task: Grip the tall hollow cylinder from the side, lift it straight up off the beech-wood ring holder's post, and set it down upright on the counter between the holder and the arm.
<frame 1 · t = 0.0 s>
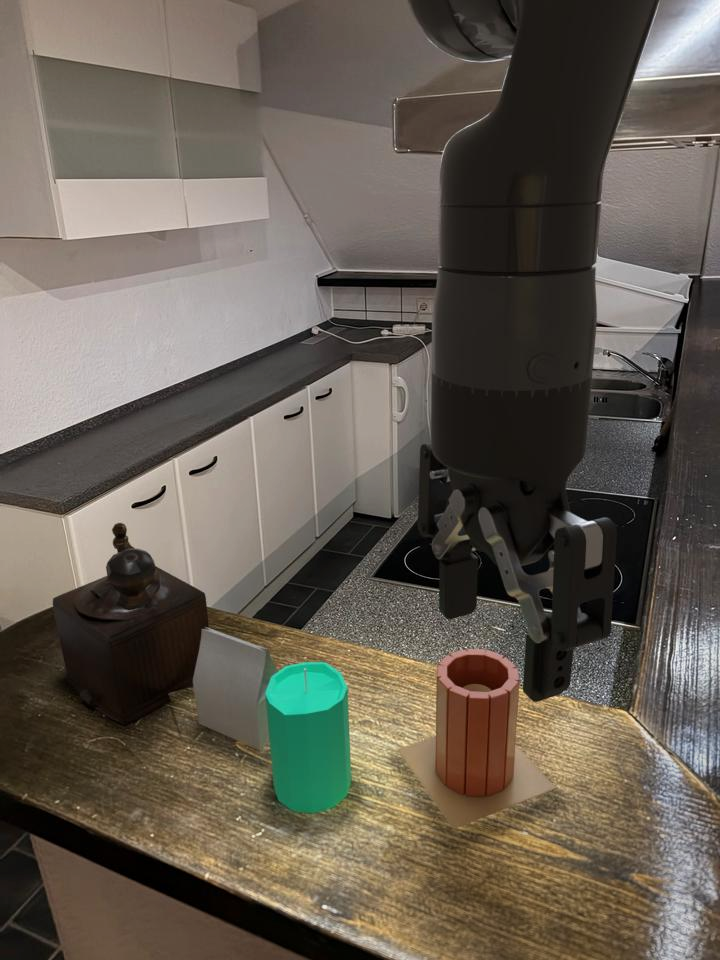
hand: (496, 650, 42), 20 cm above the countertop, tool pointing down, fingers open, 8 cm apart
hollow cylinder: (473, 767, 60), point 1 cm above the countertop, touching ring holder
tea bag: (244, 739, 66), on the countertop
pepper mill: (153, 692, 72), on the countertop
ring holder: (473, 782, 60), on the countertop
candle: (313, 799, 59), on the countertop
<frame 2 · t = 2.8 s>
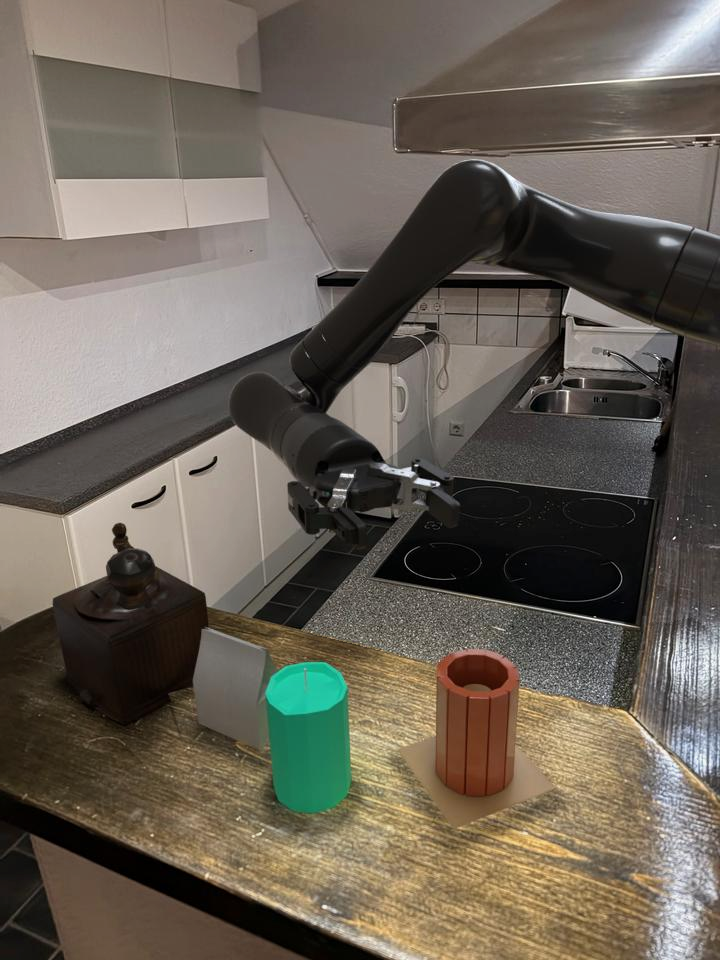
hand: (410, 527, 62), 18 cm above the countertop, tool horizontal, fingers open, 8 cm apart
nothing on the countertop moved.
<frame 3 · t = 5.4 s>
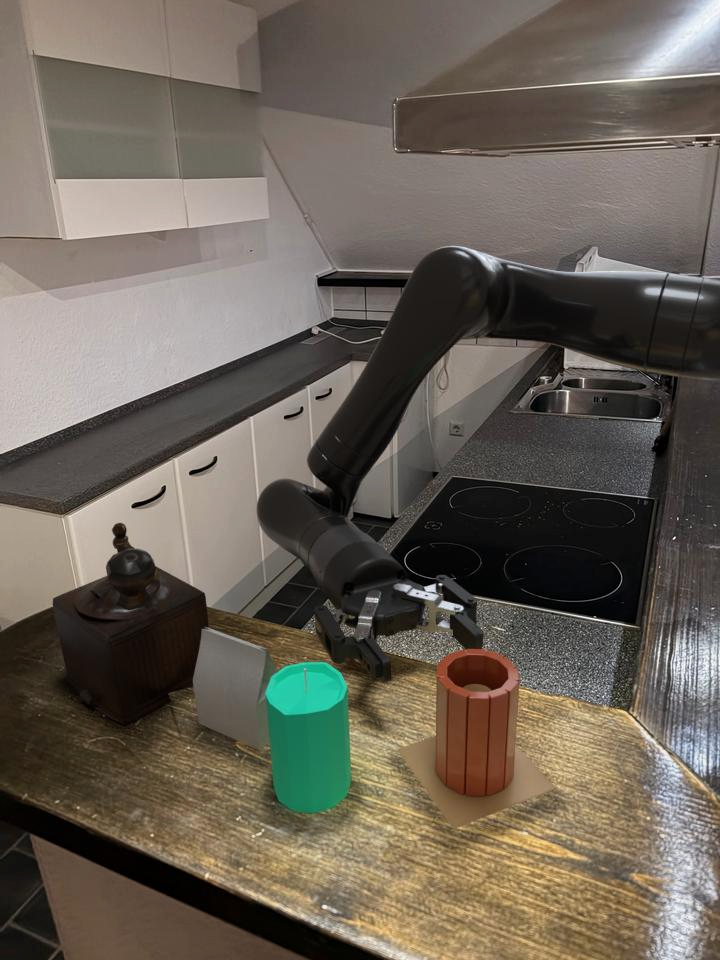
hand: (434, 659, 63), 7 cm above the countertop, tool horizontal, fingers open, 8 cm apart
nothing on the countertop moved.
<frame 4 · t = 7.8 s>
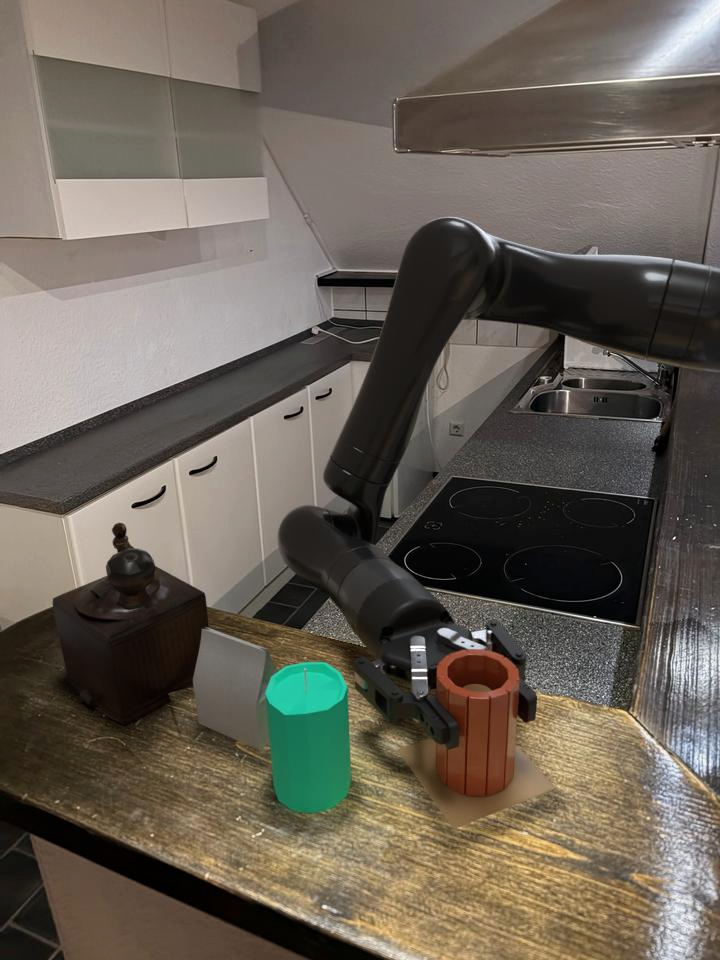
hand: (494, 724, 55), 8 cm above the countertop, tool horizontal, fingers closed on hollow cylinder, 6 cm apart
hollow cylinder: (474, 767, 60), point 2 cm above the countertop, touching gripper, ring holder
everything else where it was.
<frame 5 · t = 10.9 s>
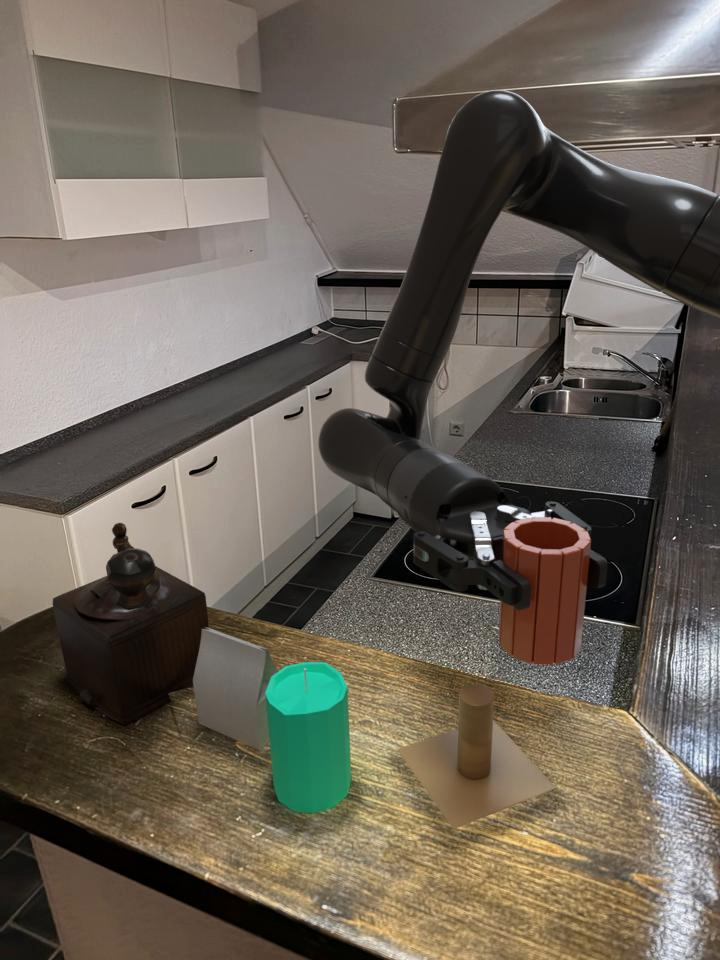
hand: (565, 586, 53), 18 cm above the countertop, tool horizontal, fingers closed on hollow cylinder, 6 cm apart
hollow cylinder: (538, 641, 58), point 12 cm above the countertop, touching gripper
everything else where it was.
when the fingers open (7 cm above the countertop, at t = 14.4 s): hollow cylinder stays where it is, resting on ring holder.
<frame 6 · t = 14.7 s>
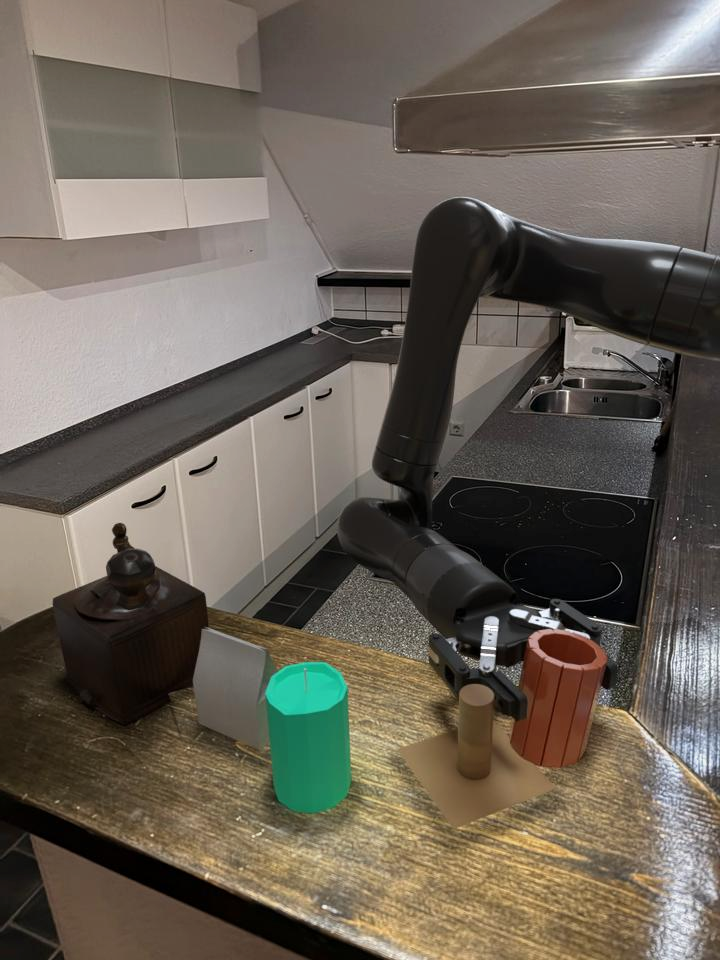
hand: (570, 694, 58), 7 cm above the countertop, tool horizontal, fingers open, 8 cm apart
hollow cylinder: (545, 744, 62), point 1 cm above the countertop, tilted 9°, touching gripper, ring holder
everything else where it was.
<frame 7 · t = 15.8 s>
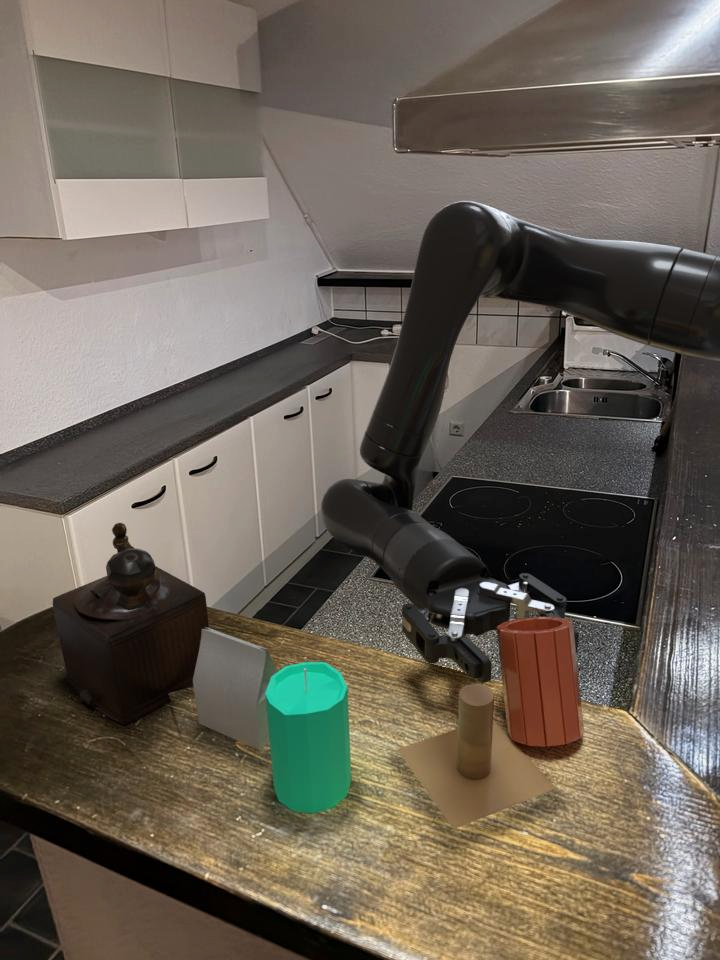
hand: (532, 659, 62), 8 cm above the countertop, tool horizontal, fingers open, 8 cm apart
hollow cylinder: (545, 733, 63), point 2 cm above the countertop, tilted 22°, touching gripper, ring holder
everything else where it was.
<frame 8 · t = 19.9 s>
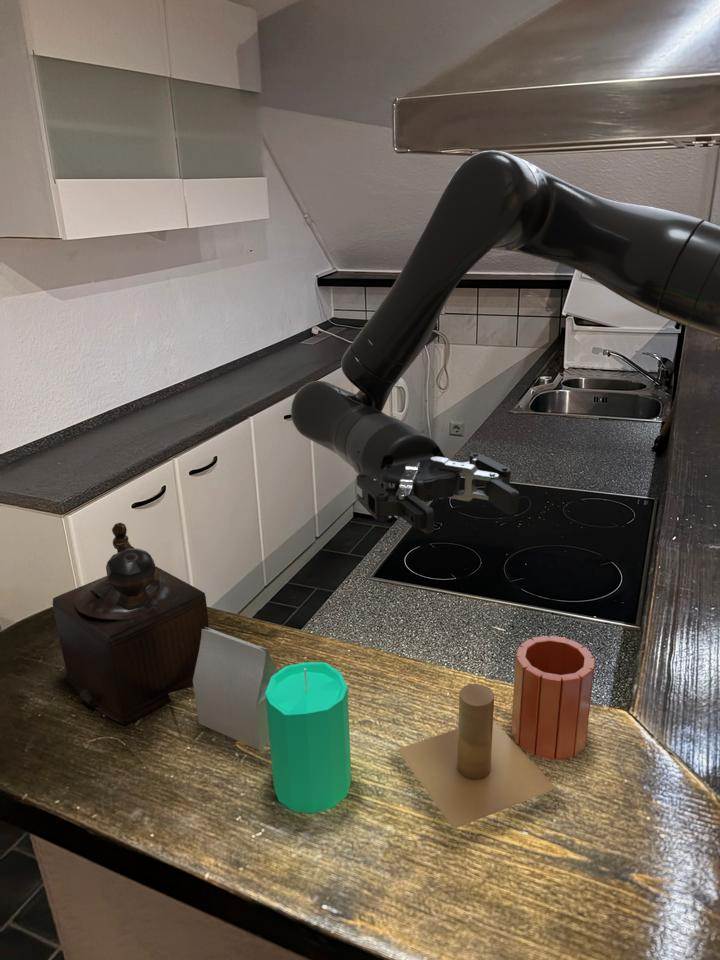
hand: (473, 513, 67), 17 cm above the countertop, tool horizontal, fingers open, 8 cm apart
hollow cylinder: (547, 747, 64), on the countertop
everything else where it was.
at the end: hollow cylinder 1.2 cm from the target spot, on the countertop; hollow cylinder tilted 0°; the gripper is holding nothing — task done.
